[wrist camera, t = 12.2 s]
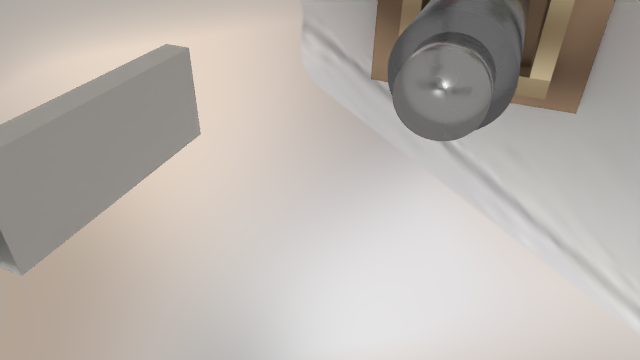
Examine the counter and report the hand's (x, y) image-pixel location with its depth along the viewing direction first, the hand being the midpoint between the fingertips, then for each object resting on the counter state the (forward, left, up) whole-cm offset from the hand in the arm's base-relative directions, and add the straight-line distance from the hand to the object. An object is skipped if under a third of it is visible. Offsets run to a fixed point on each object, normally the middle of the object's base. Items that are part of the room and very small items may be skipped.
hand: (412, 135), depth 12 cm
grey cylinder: (0, 0, -17) cm, 17 cm away
